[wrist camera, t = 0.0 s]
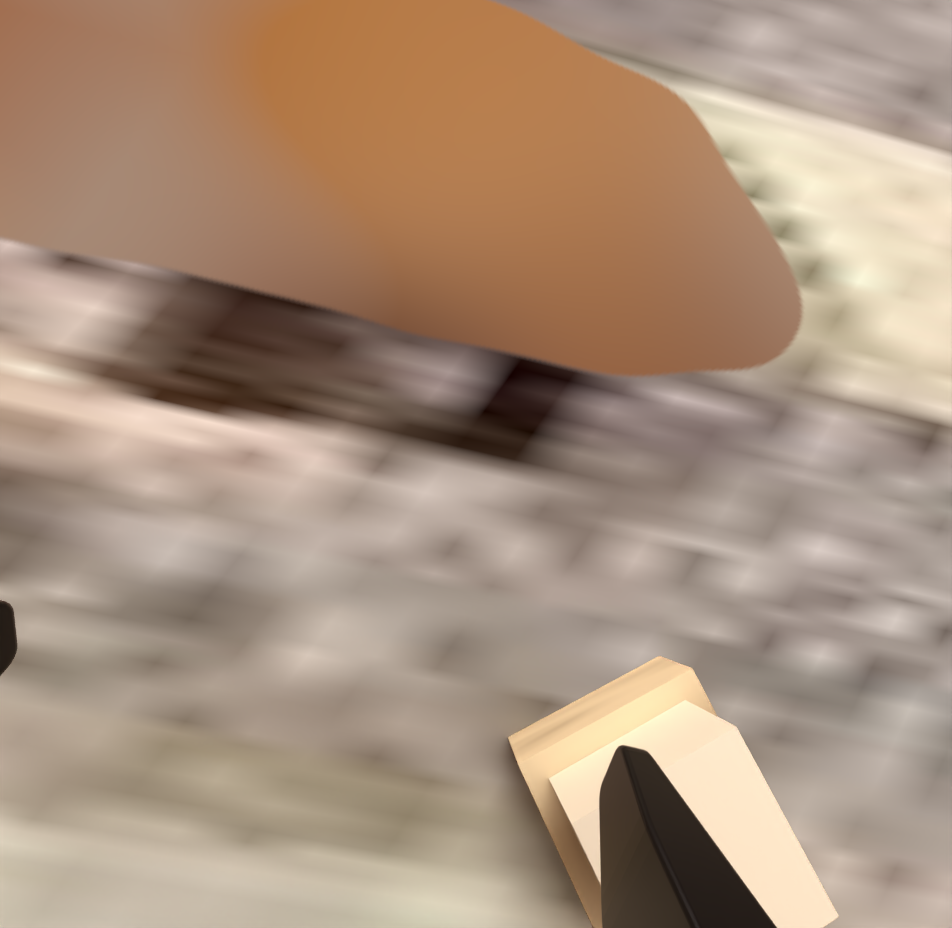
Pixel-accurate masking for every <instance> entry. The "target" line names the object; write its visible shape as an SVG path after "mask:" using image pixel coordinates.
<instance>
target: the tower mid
mask: <svg viewBox="0 0 952 928" xmlns="http://www.w3.org/2000/svg"><path fill="white" fill-rule="evenodd" d="M620 745H627V746H631V747H635V748H639V749H644V750H646V751H647V752H648V753H650V754H651V756H652V757H653V758H654V760H655V761H656V762H657V764H658V765H659V766H660V768H661V769H662V771H663V772H664V773H665V775H666V776H667V777H668V779H669V780H670V782H671V783H672V784H673V786H674V787H675V788H676V790H677V791H678V793H679V794H680V795H681V797H682V798H683V799H684V801H685V802H686V803H687V805H688V806H689V808H690V809H691V810H692V812H693V813H694V814H695V816H696V817H697V819H698V820H699V821H700V823H701V824H702V825H703V827H704V828H705V830H706V831H707V832H708V834H709V835H710V836H711V838H712V839H713V841H714V842H715V843H716V845H717V846H718V847H719V849H720V850H721V851H722V853H723V854H724V856H725V857H726V858H727V860H728V861H729V862H730V864H731V865H732V867H733V868H734V869H735V871H736V872H737V873H738V875H739V876H740V878H741V879H742V880H743V882H744V883H745V884H746V886H747V887H748V888H749V890H750V891H751V893H752V894H753V895H754V897H755V898H756V899H757V901H758V902H759V904H760V905H761V906H762V908H763V909H764V910H765V912H766V913H767V915H768V916H769V917H770V919H771V920H772V921H773V923H774V924H775V926H776V927H777V928H823V927H824V926H826V925H827V924H829V923H830V922H832V921H833V920H835V919H836V918H838V917H839V916H838V914H837V912H836V910H835V908H834V907H833V905H832V903H831V901H830V899H829V897H828V896H827V894H826V892H825V890H824V888H823V886H822V884H821V883H820V881H819V879H818V877H817V875H816V873H815V872H814V870H813V868H812V866H811V864H810V862H809V860H808V859H807V857H806V855H805V853H804V851H803V849H802V847H801V846H800V844H799V842H798V840H797V838H796V836H795V835H794V833H793V831H792V829H791V827H790V825H789V823H788V822H787V820H786V818H785V816H784V814H783V812H782V810H781V809H780V807H779V805H778V803H777V801H776V799H775V798H774V796H773V794H772V792H771V790H770V788H769V786H768V785H767V783H766V781H765V779H764V777H763V775H762V774H761V772H760V770H759V768H758V766H757V764H756V762H755V761H754V759H753V757H752V755H751V753H750V751H749V749H748V748H747V746H746V744H745V742H744V740H743V738H742V737H741V735H740V733H739V731H738V729H737V727H736V726H734V725H732V724H730V723H728V722H726V721H725V720H723V719H721V718H719V717H717V716H715V715H713V714H711V713H709V712H707V711H705V710H704V709H702V708H700V707H698V706H696V705H694V704H692V703H690V702H688V701H686V700H684V701H682V702H681V703H679V704H677V705H675V706H674V707H672V708H670V709H668V710H667V711H665V712H663V713H661V714H660V715H658V716H656V717H655V718H653V719H651V720H649V721H648V722H646V723H644V724H642V725H641V726H639V727H637V728H635V729H634V730H632V731H630V732H628V733H627V734H625V735H623V736H621V737H620V738H618V739H616V740H614V741H613V742H611V743H609V744H608V745H606V746H604V747H602V748H601V749H599V750H597V751H595V752H594V753H592V754H590V755H588V756H587V757H585V758H583V759H581V760H580V761H578V762H576V763H574V764H573V765H571V766H569V767H568V768H566V769H564V770H562V771H561V772H559V773H557V774H555V775H554V776H552V777H550V778H549V780H550V782H551V784H552V787H553V789H554V791H555V793H556V795H557V797H558V799H559V801H560V803H561V805H562V807H563V809H564V812H565V814H566V816H567V818H568V820H569V822H570V824H571V826H572V828H573V830H574V832H575V834H576V837H577V839H578V841H579V843H580V845H581V847H582V849H583V851H584V853H585V855H586V857H587V859H588V862H589V864H590V866H591V868H592V870H593V872H594V874H595V876H596V878H597V880H598V882H599V884H600V887H601V871H600V820H599V795H600V788H601V784H602V781H603V779H604V776H605V774H606V772H607V769H608V767H609V764H610V762H611V760H612V757H613V755H614V752H615V750H616V749H617V748H618V746H620Z"/></svg>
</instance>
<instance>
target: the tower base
mask: <svg viewBox="0 0 952 928" xmlns="http://www.w3.org/2000/svg"><path fill="white" fill-rule="evenodd" d="M684 700H686V701H688V702H690V703H692V704H694V705H696V706H698V707H700V708H702V709H704V710H705V711H707V712H709V713H711V714H713V715H715V716H717V715H716V713H715V711H714V709H713V707H712V705H711V703H710V701H709V699H708V698H707V696H706V694H705V692H704V690H703V688H702V686H701V684H700V682H699V680H698V678H697V677H696V675H695V673H694V671H693V669H692V668H690V667H687V666H685V665H682V664H679V663H677V662H674V661H671V660H669V659H666V658H663V657H661V656H658V657H656V658H655V659H653V660H651V661H649V662H647V663H645V664H643V665H642V666H640V667H638V668H636V669H634V670H632V671H630V672H629V673H627V674H625V675H623V676H621V677H619V678H617V679H616V680H614V681H612V682H610V683H608V684H606V685H604V686H603V687H601V688H599V689H597V690H595V691H593V692H591V693H590V694H588V695H586V696H584V697H582V698H580V699H578V700H577V701H575V702H573V703H571V704H569V705H567V706H565V707H564V708H562V709H560V710H558V711H556V712H554V713H552V714H550V715H549V716H547V717H545V718H543V719H541V720H539V721H537V722H536V723H534V724H532V725H530V726H528V727H526V728H524V729H523V730H521V731H519V732H517V733H515V734H513V735H511V736H510V737H508V739H509V742H510V744H511V747H512V750H513V752H514V755H515V757H516V760H517V763H518V765H519V767H520V770H521V772H522V774H523V776H524V778H525V780H526V783H527V785H528V787H529V789H530V791H531V794H532V796H533V798H534V800H535V802H536V804H537V807H538V809H539V811H540V813H541V815H542V818H543V820H544V822H545V824H546V826H547V828H548V831H549V833H550V835H551V837H552V839H553V842H554V844H555V846H556V848H557V850H558V852H559V855H560V857H561V859H562V861H563V863H564V866H565V868H566V870H567V872H568V874H569V876H570V879H571V881H572V883H573V885H574V887H575V890H576V892H577V894H578V896H579V898H580V900H581V903H582V905H583V907H584V909H585V911H586V914H587V916H588V918H589V920H590V922H591V924H592V927H593V928H602V911H601V887H600V884H599V882H598V880H597V878H596V876H595V874H594V872H593V870H592V868H591V866H590V864H589V862H588V859H587V857H586V855H585V853H584V851H583V849H582V847H581V845H580V843H579V841H578V839H577V837H576V834H575V832H574V830H573V828H572V826H571V824H570V822H569V820H568V818H567V816H566V814H565V812H564V809H563V807H562V805H561V803H560V801H559V799H558V797H557V795H556V793H555V791H554V789H553V787H552V784H551V782H550V780H549V778H550V777H552V776H554V775H555V774H557V773H559V772H561V771H562V770H564V769H566V768H568V767H569V766H571V765H573V764H574V763H576V762H578V761H580V760H581V759H583V758H585V757H587V756H588V755H590V754H592V753H594V752H595V751H597V750H599V749H601V748H602V747H604V746H606V745H608V744H609V743H611V742H613V741H614V740H616V739H618V738H620V737H621V736H623V735H625V734H627V733H628V732H630V731H632V730H634V729H635V728H637V727H639V726H641V725H642V724H644V723H646V722H648V721H649V720H651V719H653V718H655V717H656V716H658V715H660V714H661V713H663V712H665V711H667V710H668V709H670V708H672V707H674V706H675V705H677V704H679V703H681V702H682V701H684Z"/></svg>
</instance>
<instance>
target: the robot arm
mask: <svg viewBox="0 0 952 928" xmlns="http://www.w3.org/2000/svg"><path fill="white" fill-rule="evenodd" d="M16 651H17V637H16V628H15V618H14V611H13V608H12V606H11V605H10V604H9V603H7V602H5V601H1V600H0V676H1V675H2V673H3V672H4V671H5V670H6V669H7V668H8V666H9V665H10V664H11V662H12V660H13V659H14V657H15V654H16ZM599 820H600V871H601V911H602V928H777V927H776V926H775V924H774V923H773V921H772V920H771V919H770V917H769V916H768V915H767V913H766V912H765V910H764V909H763V908H762V906H761V905H760V904H759V902H758V901H757V899H756V898H755V897H754V895H753V894H752V893H751V891H750V890H749V888H748V887H747V886H746V884H745V883H744V882H743V880H742V879H741V878H740V876H739V875H738V873H737V872H736V871H735V869H734V868H733V867H732V865H731V864H730V862H729V861H728V860H727V858H726V857H725V856H724V854H723V853H722V851H721V850H720V849H719V847H718V846H717V845H716V843H715V842H714V841H713V839H712V838H711V836H710V835H709V834H708V832H707V831H706V830H705V828H704V827H703V825H702V824H701V823H700V821H699V820H698V819H697V817H696V816H695V814H694V813H693V812H692V810H691V809H690V808H689V806H688V805H687V803H686V802H685V801H684V799H683V798H682V797H681V795H680V794H679V793H678V791H677V790H676V788H675V787H674V786H673V784H672V783H671V782H670V780H669V779H668V777H667V776H666V775H665V773H664V772H663V771H662V769H661V768H660V766H659V765H658V764H657V762H656V761H655V760H654V758H653V757H652V756H651V754H650V753H648V752H647V751H646V750H644V749H639V748H635V747H631V746H627V745H620V746H618V748H617V749H616V750H615V752H614V755H613V757H612V760H611V762H610V764H609V767H608V769H607V772H606V774H605V776H604V779H603V781H602V784H601V788H600V795H599Z"/></svg>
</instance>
